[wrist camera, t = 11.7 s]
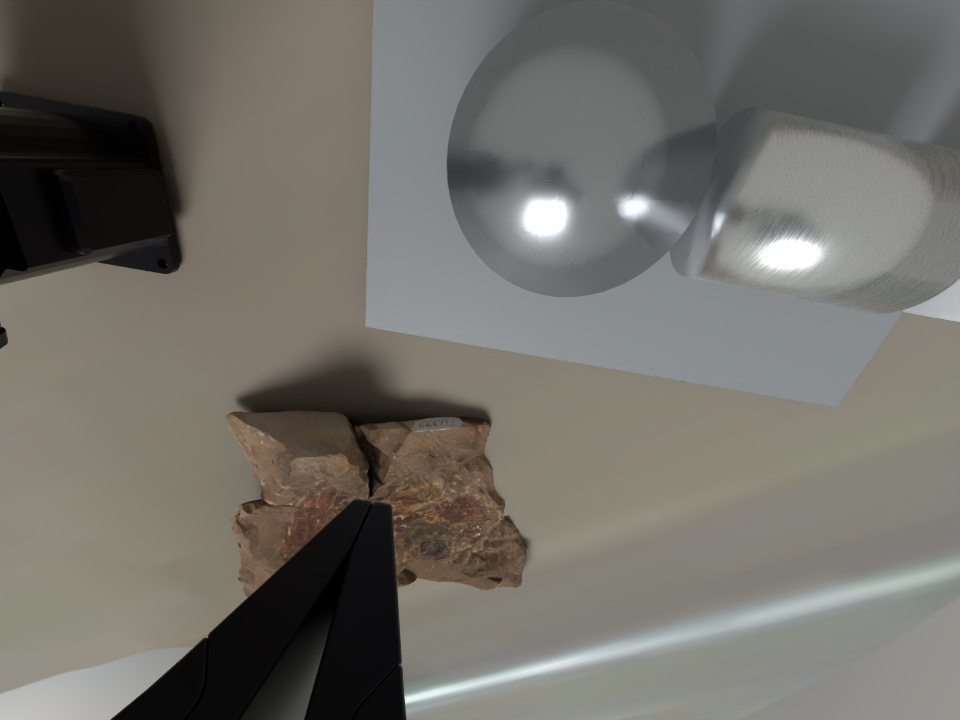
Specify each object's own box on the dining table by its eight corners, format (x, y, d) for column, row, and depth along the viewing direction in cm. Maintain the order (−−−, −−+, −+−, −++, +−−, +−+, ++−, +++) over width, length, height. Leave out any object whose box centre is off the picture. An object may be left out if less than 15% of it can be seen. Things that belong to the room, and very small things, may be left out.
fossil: (545, 419, 22) (554, 479, 18) (518, 593, 29) (520, 665, 25) (205, 393, 23) (137, 445, 19) (261, 570, 30) (221, 636, 26)
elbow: (444, 254, 16) (420, 289, 12) (478, 10, 13) (461, -72, 8) (785, 322, 17) (886, 380, 12) (913, 102, 13) (1123, 71, 9)
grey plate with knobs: (372, 319, 20) (313, 385, 14) (390, -256, 11) (267, -693, 6) (821, 396, 20) (951, 493, 14) (1157, -111, 12) (1801, -383, 6)
